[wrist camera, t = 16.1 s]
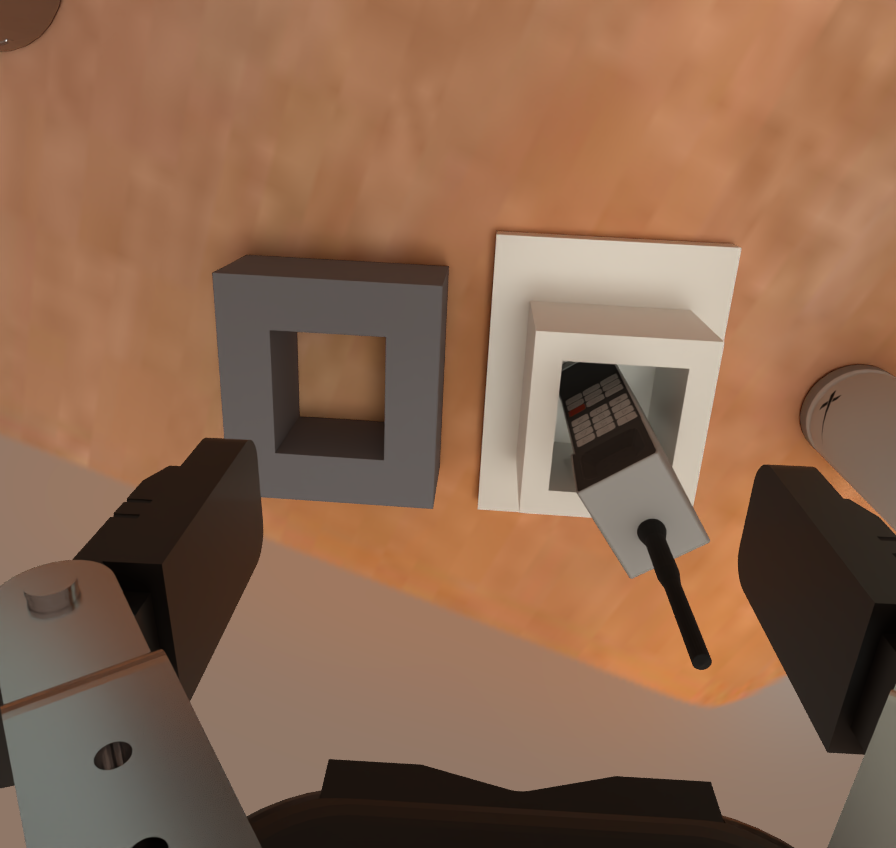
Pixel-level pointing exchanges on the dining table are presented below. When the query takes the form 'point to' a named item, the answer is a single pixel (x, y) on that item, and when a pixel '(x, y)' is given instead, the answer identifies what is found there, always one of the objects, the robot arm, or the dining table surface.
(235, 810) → the robot arm
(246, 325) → the holster
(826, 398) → the travel mug
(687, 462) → the charging dock
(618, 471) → the vintage mobile phone
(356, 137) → the dining table surface
